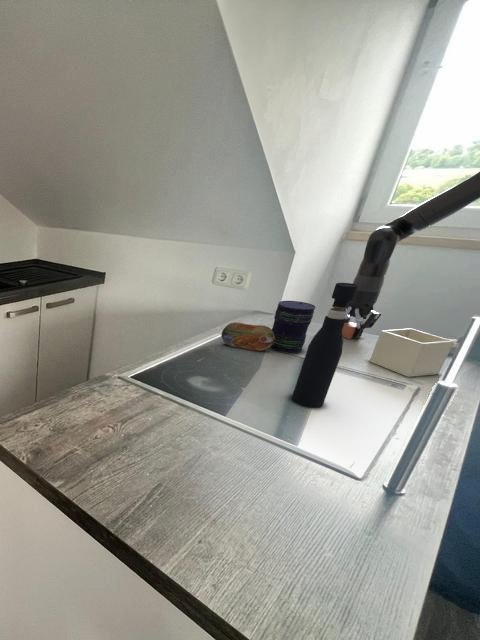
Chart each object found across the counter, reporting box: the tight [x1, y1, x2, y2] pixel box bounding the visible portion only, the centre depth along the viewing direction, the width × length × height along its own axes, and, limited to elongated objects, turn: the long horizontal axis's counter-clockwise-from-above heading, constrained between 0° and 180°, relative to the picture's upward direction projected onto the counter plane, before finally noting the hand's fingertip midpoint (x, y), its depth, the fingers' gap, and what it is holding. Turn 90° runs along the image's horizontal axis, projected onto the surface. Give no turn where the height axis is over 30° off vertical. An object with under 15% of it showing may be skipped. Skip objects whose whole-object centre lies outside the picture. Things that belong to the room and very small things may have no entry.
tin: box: [221, 321, 275, 352], centre depth 129 cm, size 15×3×8 cm, turn 55°
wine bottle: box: [291, 282, 358, 409], centre depth 92 cm, size 6×6×30 cm
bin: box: [368, 327, 455, 378], centre depth 112 cm, size 14×11×10 cm
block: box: [342, 321, 361, 340], centre depth 137 cm, size 4×4×4 cm
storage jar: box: [269, 300, 316, 354], centre depth 127 cm, size 10×10×15 cm
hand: (348, 335), depth 138 cm, fingers closed on block, 4 cm apart
